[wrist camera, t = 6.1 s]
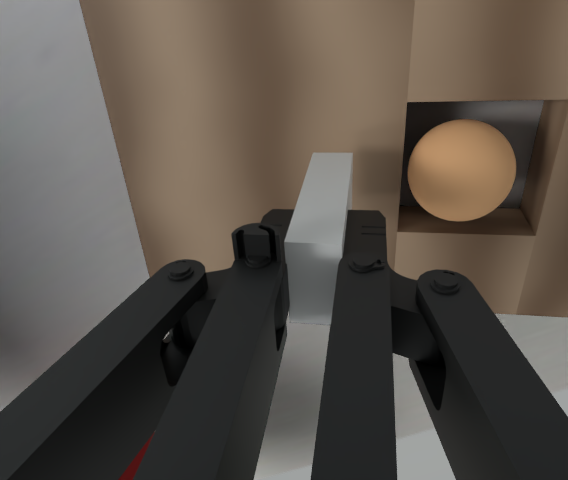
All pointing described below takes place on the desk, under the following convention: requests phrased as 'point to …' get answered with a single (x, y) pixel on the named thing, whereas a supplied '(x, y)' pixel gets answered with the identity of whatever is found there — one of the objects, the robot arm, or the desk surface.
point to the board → (332, 123)
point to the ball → (461, 170)
